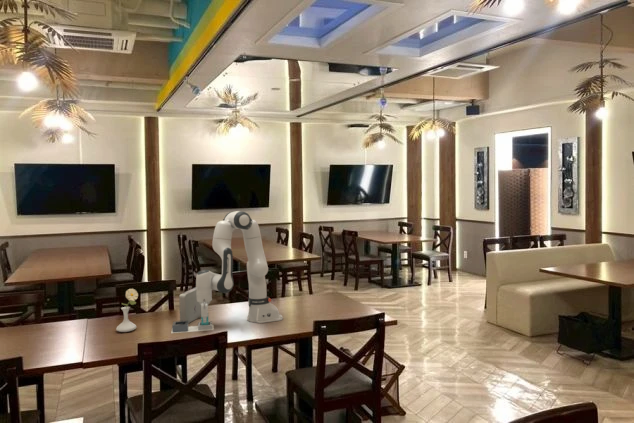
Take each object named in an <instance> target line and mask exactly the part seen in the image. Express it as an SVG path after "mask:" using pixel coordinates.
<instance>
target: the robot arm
mask: <svg viewBox="0 0 634 423" xmlns="http://www.w3.org/2000/svg"><path fill="white" fill-rule="evenodd" d="M235 230H241V232H242V237H243V243H244V248H245V249H244V250H245V253H246V257H247V262H246V274H247V281H248V303H247V304H248V314H247V318H246V319H247V321H248V322H251V323H256V324H263V323H270V322H278V321H283V319H284V317H283V315H282V314H281V313H280V311H279V309H278V307H277V306H276V305H275V304H273V303H271V302H272V298H270V297H269V296H267V291H268V290H267V282H266V281H267V280H266V275H267V274H268V272H269V267H268V262H267V261H268V260H267V258H266V254H265V251H264V246H263V245H264V244H263V240H262V235H261V229H260V225H259V224H258V222H257V220H255V219H252V217H251V216H250V215H249V213H247V212H246V211H244V210H243V211H241V210H237V211H229V212H227V213H226V215H225V216H224V218H223V219H222V220H219V221H217V222H216V224H215V226H214V230H213V236H212V243H211V244H212V249H213V251H214V252H215V253H216V254H217V255H218V256H219V257H220V259H221V274H219V273H216V272H213V271H210V270H209V269H202V270H199V271H198V272H197V273H196V277H195V278H196V279H195V287H197V292H196V297H197V302H199V304H200V305H201V316H200V317H203V322H204V323H206V322H207V321H206V319H207V317H208V318H209V304H211V301H213V298H212V297H213V295H212V294H213V291H218V292H220V293H223V294H227V293H229V292H231V291H232V289H233V287H234V285H235V284H234V283H235V282H234V277H233V267H234V266H233V262H234V260H233V258H234V256H233V254H234V253H233V251H232V238H233V234H234V231H235Z"/></svg>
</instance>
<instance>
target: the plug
mask: <svg viewBox="0 0 634 423" xmlns="http://www.w3.org/2000/svg"><path fill="white" fill-rule="evenodd" d="M200 317H201V316H200ZM200 320H201V321H200V322H201V324H202V325H209V323H208V322H209V316H208V317H207V319H206V321H207V322H206V323H204V322H203V317H201V319H200Z"/></svg>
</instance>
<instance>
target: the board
mask: <svg viewBox="0 0 634 423" xmlns="http://www.w3.org/2000/svg"><path fill="white" fill-rule="evenodd" d="M203 331H204V332H205V331H215V325H214V324H212V329H209V330H198V325H191V326H190V325H189V326H188V331H186V332H185V333H192V332H203ZM170 333H171V334H179V333H180V334H181V333H183V332H173V330H172V329H171V331H170Z"/></svg>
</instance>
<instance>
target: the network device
mask: <svg viewBox="0 0 634 423" xmlns="http://www.w3.org/2000/svg"><path fill="white" fill-rule="evenodd" d="M196 292H197V287H196V286H195V287H193V288H192V289H191V288H190V289H189V290H186V291H185V292H183V293H180V294H179V296H178V297H179V300H178V301H179V304H178V305H179V321H188V324H190V323H192V322H193V321H196V320H197V319H200V320H201V305H200V304H199V302H197V297H196Z"/></svg>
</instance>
